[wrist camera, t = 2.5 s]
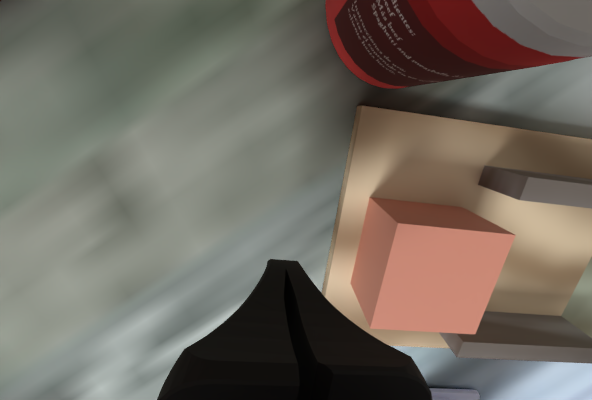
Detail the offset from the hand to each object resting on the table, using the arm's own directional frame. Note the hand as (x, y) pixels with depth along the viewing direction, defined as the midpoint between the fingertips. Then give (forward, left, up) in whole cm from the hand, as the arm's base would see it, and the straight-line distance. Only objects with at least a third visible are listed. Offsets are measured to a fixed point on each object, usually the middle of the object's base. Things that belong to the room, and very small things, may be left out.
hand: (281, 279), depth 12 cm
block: (0, -8, -5) cm, 9 cm away
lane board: (0, -20, -6) cm, 20 cm away
